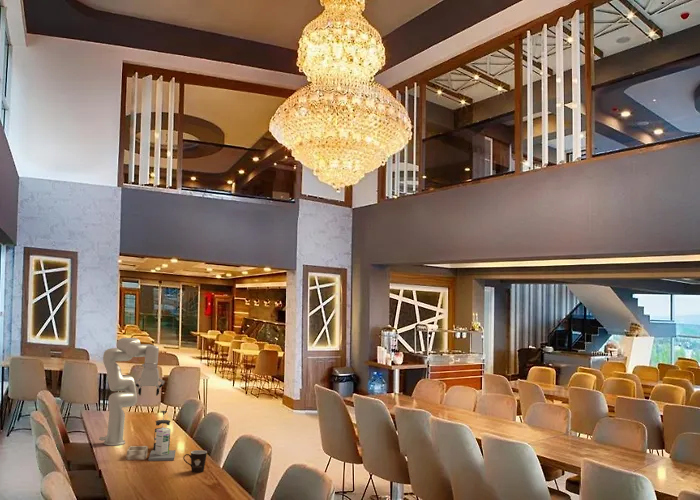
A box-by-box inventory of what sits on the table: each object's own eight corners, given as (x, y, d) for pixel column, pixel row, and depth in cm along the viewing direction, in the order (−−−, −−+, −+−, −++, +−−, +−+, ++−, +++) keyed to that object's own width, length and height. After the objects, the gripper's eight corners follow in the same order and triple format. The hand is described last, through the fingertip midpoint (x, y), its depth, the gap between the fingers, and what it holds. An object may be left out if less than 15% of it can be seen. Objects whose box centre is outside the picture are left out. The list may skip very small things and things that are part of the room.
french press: (169, 450, 353) (172, 412, 355) (153, 451, 349) (156, 412, 352) (168, 446, 364) (170, 409, 366) (152, 447, 360) (155, 409, 363)
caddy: (126, 459, 329) (127, 450, 330) (128, 455, 339) (129, 446, 340) (145, 459, 332) (146, 450, 332) (147, 454, 342) (147, 446, 342)
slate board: (148, 461, 328) (148, 458, 328) (151, 453, 346) (151, 450, 346) (174, 460, 332) (174, 457, 332) (175, 452, 349) (175, 450, 349)
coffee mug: (208, 470, 316) (210, 451, 317) (199, 474, 307) (201, 454, 309) (190, 467, 319) (192, 448, 320) (181, 471, 311) (182, 452, 312)
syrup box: (161, 455, 335) (163, 430, 336) (154, 454, 338) (156, 428, 339) (169, 454, 340) (171, 428, 341) (162, 452, 343) (164, 427, 344)
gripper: (135, 366, 342) (132, 396, 341) (165, 367, 347) (163, 396, 345) (136, 365, 350) (133, 394, 348) (166, 366, 354) (163, 394, 352)
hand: (148, 395), depth 346 cm, fingers open, 9 cm apart
